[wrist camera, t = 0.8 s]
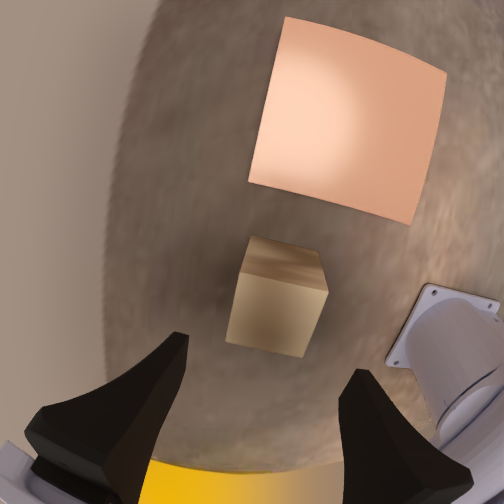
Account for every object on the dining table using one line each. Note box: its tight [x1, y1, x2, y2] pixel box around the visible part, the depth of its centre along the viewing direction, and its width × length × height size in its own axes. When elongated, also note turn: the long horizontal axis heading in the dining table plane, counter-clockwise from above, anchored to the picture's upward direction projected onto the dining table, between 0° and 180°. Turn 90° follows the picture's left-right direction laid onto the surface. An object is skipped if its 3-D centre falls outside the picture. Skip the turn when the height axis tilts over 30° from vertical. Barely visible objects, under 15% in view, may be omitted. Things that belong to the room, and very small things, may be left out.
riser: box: [248, 17, 447, 225], centre depth 15 cm, size 10×10×2 cm
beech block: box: [225, 235, 329, 358], centre depth 18 cm, size 4×4×6 cm
